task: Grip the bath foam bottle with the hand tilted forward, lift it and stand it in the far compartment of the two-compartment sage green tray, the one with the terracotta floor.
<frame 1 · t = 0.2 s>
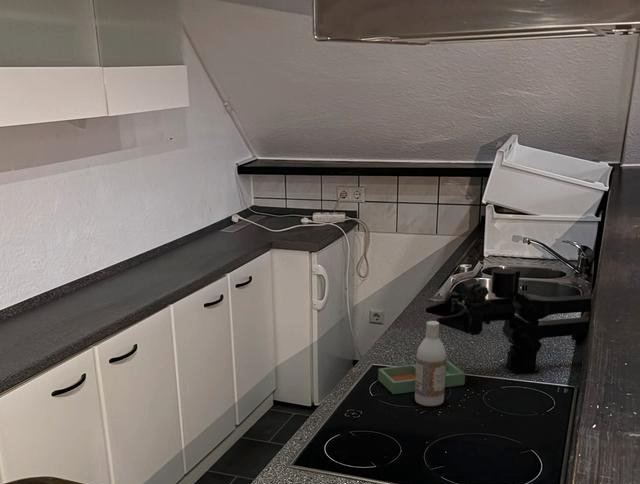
hand: (431, 315, 193), 17 cm above the countertop, tool horizontal, fingers open, 9 cm apart
tray: (420, 382, 195), on the countertop
bath foam: (429, 402, 184), on the countertop
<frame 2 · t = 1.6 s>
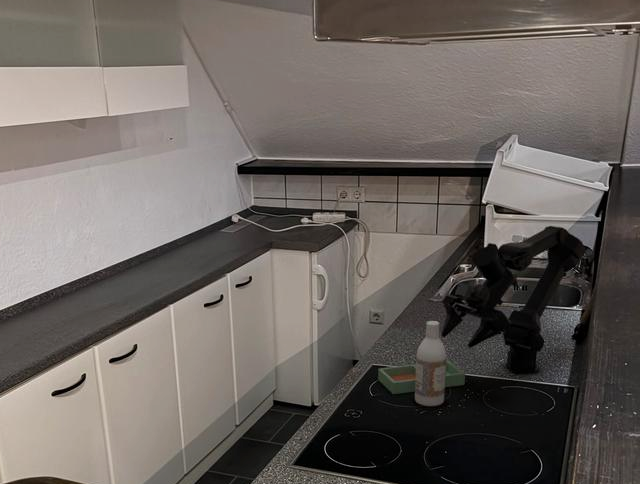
hand: (455, 341, 183), 14 cm above the countertop, tool tilted 45°, fingers open, 9 cm apart
nothing on the countertop moved.
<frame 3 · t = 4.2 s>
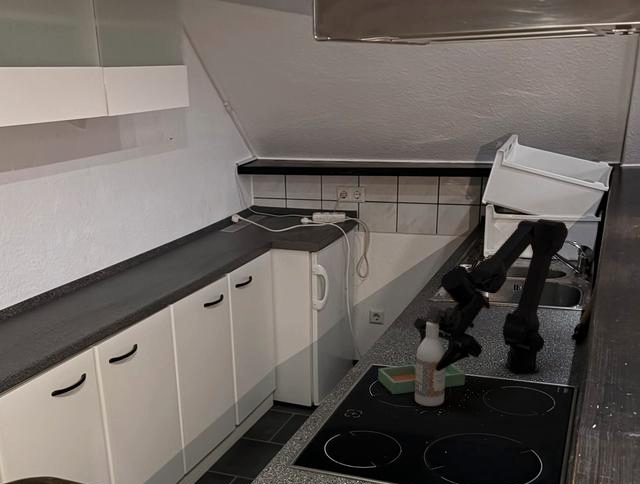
hand: (426, 365, 180), 10 cm above the countertop, tool tilted 45°, fingers closed on bath foam, 7 cm apart
bath foam: (429, 402, 184), on the countertop, touching gripper
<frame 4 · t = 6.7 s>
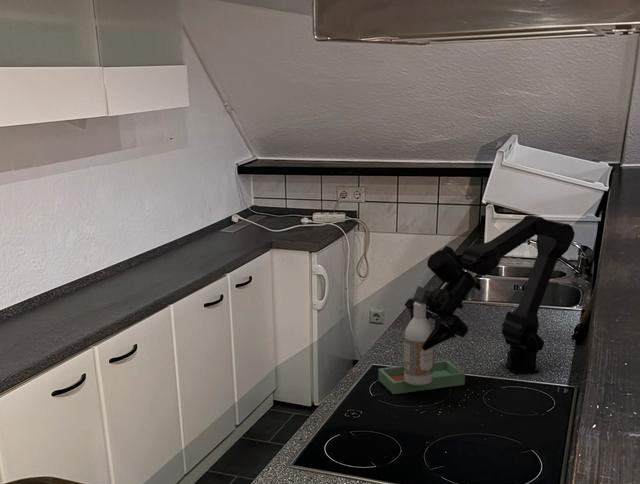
hand: (414, 345, 183), 13 cm above the countertop, tool tilted 45°, fingers closed on bath foam, 7 cm apart
bath foam: (418, 381, 187), point 3 cm above the countertop, touching gripper
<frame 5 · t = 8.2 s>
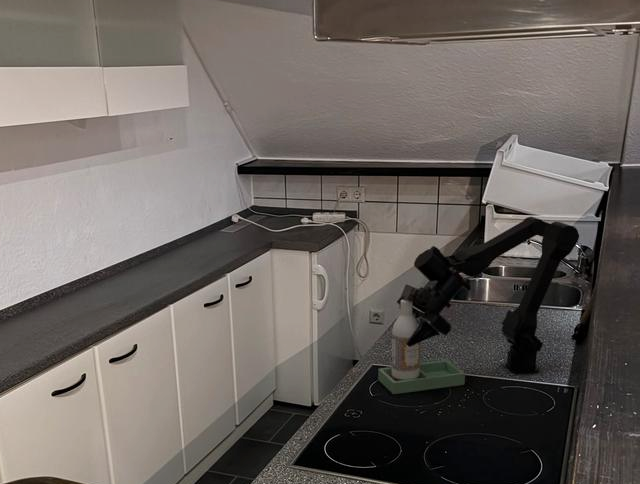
hand: (401, 341, 190), 12 cm above the countertop, tool tilted 45°, fingers closed on bath foam, 7 cm apart
bath foam: (405, 376, 194), point 2 cm above the countertop, touching gripper
when the fingers open (10 cm above the countertop, at t = 9.2 s): bath foam stays where it is, resting on tray.
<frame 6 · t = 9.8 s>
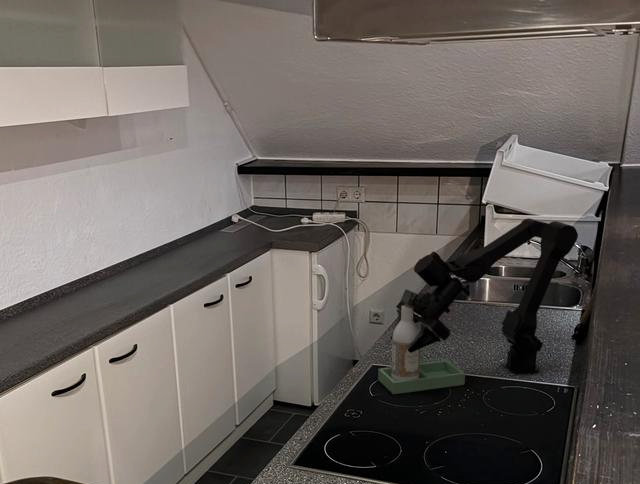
hand: (400, 345, 190), 11 cm above the countertop, tool tilted 45°, fingers open, 9 cm apart
bath foam: (404, 382, 194), point 1 cm above the countertop, touching tray
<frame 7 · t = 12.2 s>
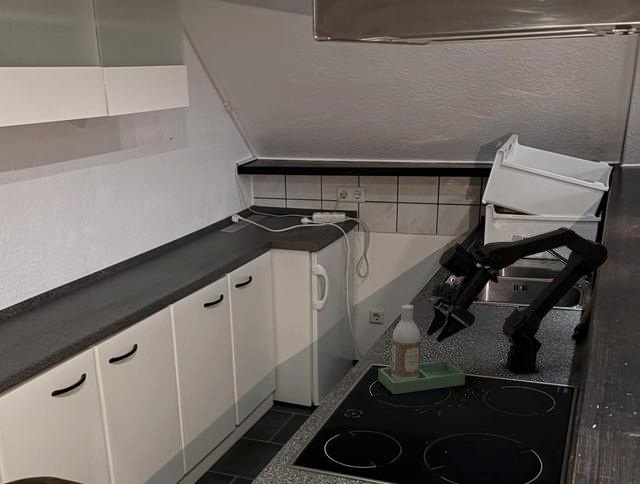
hand: (432, 338, 194), 11 cm above the countertop, tool tilted 40°, fingers open, 9 cm apart
nothing on the countertop moved.
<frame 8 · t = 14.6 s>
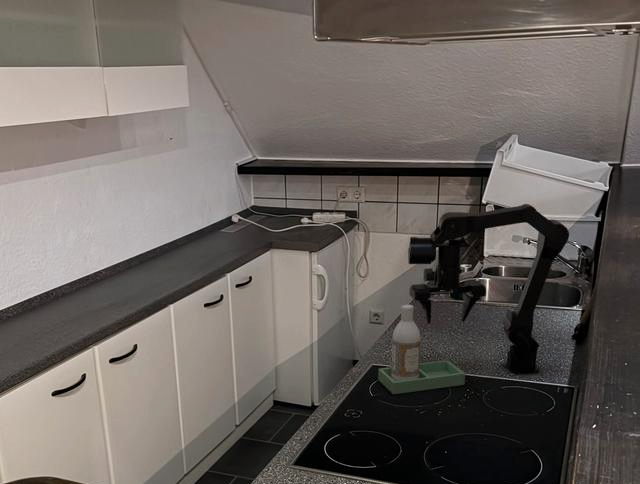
hand: (445, 322, 199), 13 cm above the countertop, tool pointing down, fingers open, 9 cm apart
nothing on the countertop moved.
at the end: bath foam 0.3 cm from the target spot in the tray, point 0.6 cm above the tray's base; bath foam tilted 0°; the gripper is holding nothing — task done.
